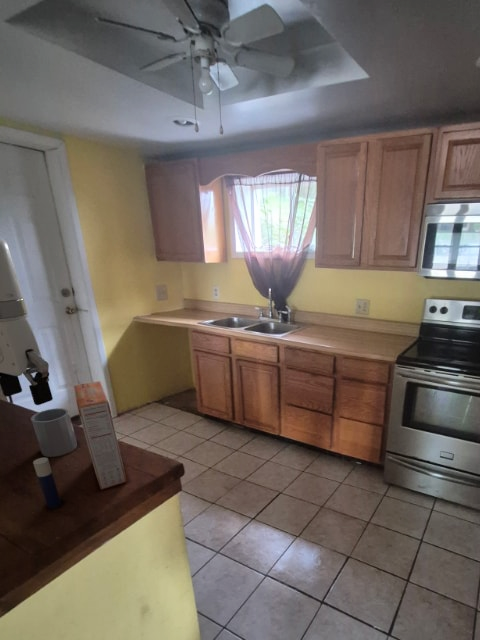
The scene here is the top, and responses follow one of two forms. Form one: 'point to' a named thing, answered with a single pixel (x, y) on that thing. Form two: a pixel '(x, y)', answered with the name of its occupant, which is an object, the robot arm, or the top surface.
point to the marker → (47, 482)
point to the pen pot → (54, 432)
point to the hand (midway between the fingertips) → (28, 398)
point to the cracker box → (100, 434)
